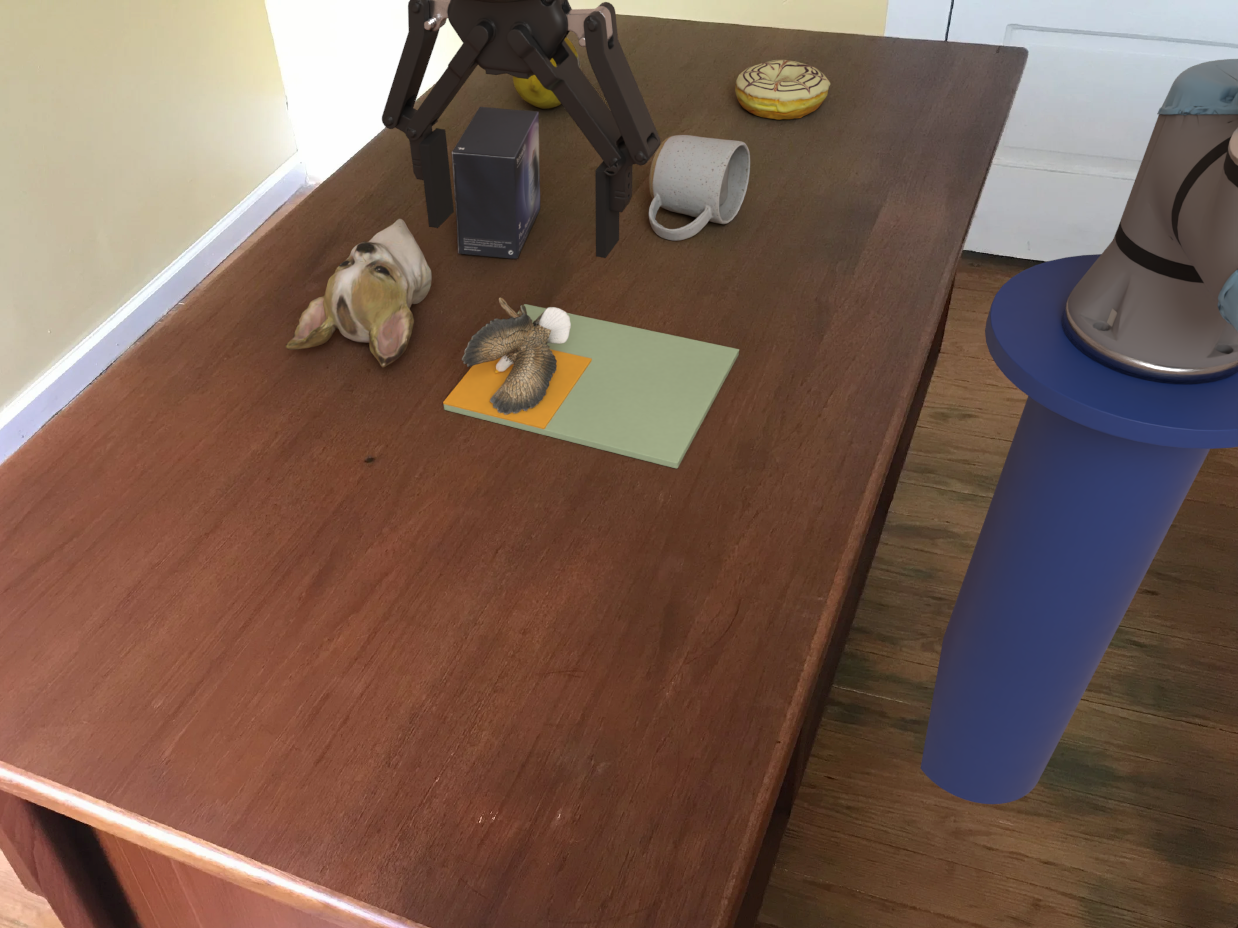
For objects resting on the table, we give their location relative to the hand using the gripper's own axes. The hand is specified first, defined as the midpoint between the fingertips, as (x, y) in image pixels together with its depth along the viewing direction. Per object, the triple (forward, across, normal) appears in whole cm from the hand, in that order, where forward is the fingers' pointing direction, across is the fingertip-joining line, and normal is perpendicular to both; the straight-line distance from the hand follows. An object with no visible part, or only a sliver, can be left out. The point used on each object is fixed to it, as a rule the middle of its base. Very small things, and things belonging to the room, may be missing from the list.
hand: (522, 233), depth 82 cm
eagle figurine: (+13, -1, 0) cm, 13 cm away
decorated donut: (+14, +5, +60) cm, 62 cm away
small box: (+14, -13, +22) cm, 30 cm away
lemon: (+14, -21, +52) cm, 58 cm away
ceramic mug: (+14, +4, +31) cm, 35 cm away
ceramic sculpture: (+14, -16, +2) cm, 22 cm away
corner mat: (+14, +5, +2) cm, 15 cm away
